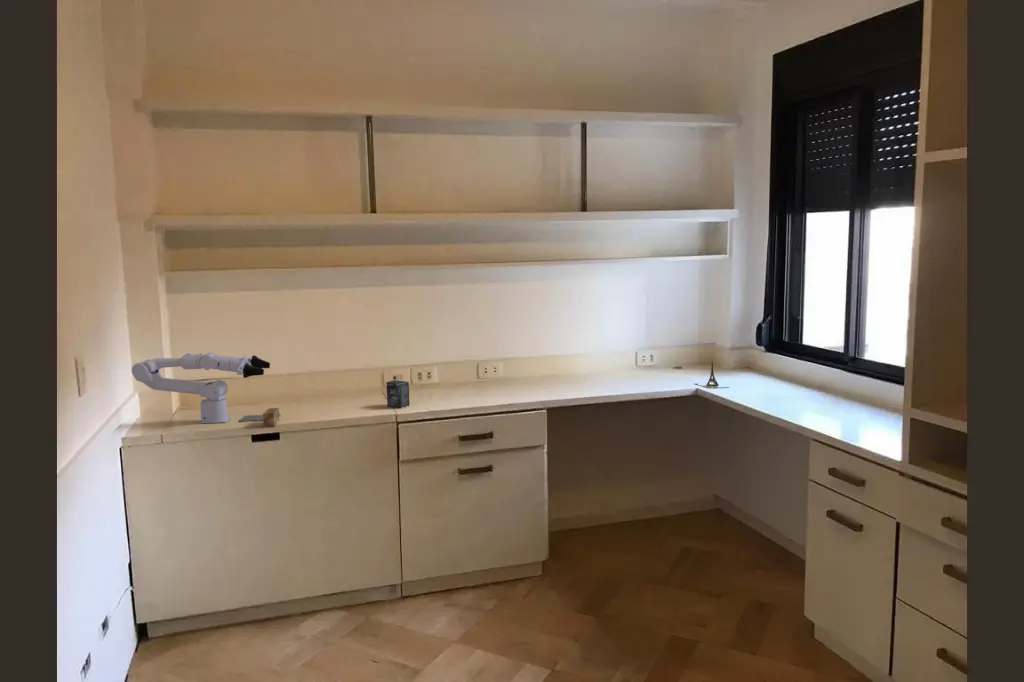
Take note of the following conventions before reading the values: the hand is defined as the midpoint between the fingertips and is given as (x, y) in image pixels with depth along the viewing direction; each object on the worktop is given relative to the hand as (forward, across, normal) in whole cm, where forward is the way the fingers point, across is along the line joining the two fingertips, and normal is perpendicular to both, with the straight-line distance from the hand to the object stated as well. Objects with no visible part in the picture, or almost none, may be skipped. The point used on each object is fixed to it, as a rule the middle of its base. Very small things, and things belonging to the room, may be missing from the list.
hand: (266, 368), depth 299 cm
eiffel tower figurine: (+189, +45, 0) cm, 195 cm away
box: (+51, +15, +16) cm, 56 cm away
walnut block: (+6, -12, +18) cm, 22 cm away
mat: (-1, -2, +21) cm, 21 cm away
